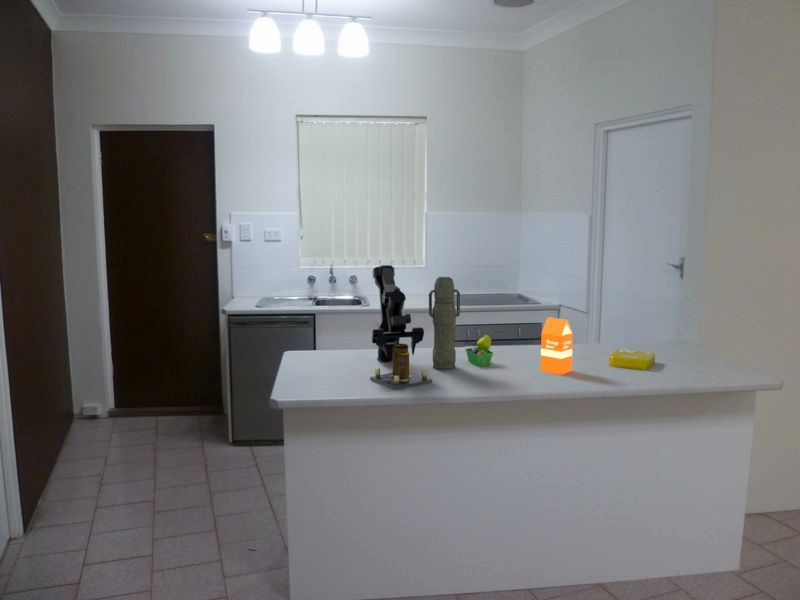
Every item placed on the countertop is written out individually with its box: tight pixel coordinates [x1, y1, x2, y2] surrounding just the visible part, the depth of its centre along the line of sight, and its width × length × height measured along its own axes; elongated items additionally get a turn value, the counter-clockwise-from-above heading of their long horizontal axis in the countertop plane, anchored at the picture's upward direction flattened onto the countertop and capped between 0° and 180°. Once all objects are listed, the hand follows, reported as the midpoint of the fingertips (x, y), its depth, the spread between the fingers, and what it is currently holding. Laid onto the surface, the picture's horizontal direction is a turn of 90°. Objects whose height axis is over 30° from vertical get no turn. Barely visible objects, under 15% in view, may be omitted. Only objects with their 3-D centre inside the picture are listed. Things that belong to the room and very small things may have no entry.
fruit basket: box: [464, 334, 494, 367], centre depth 267 cm, size 11×9×11 cm
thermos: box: [428, 276, 461, 371], centre depth 259 cm, size 9×12×35 cm
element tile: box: [608, 348, 656, 371], centre depth 264 cm, size 15×15×5 cm
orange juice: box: [540, 317, 574, 376], centre depth 254 cm, size 8×9×20 cm
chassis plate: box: [369, 367, 433, 391], centre depth 241 cm, size 16×16×4 cm
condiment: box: [387, 343, 412, 381], centre depth 241 cm, size 7×8×12 cm
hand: (400, 355), depth 241 cm, fingers open, 9 cm apart
